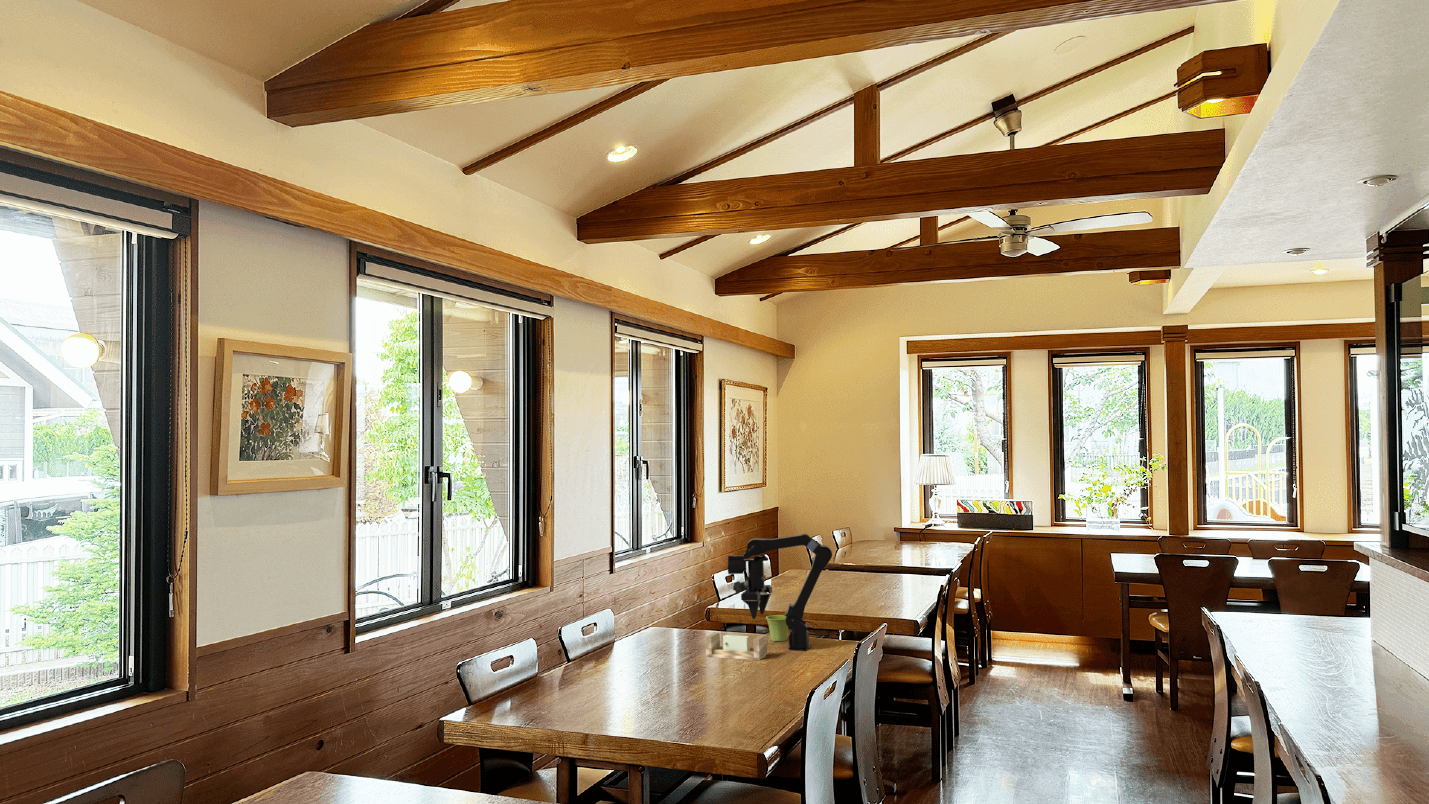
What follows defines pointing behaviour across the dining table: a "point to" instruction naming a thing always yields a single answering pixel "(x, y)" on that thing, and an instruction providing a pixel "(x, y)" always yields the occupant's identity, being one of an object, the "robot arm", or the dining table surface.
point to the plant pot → (777, 627)
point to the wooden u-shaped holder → (717, 651)
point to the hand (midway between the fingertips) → (758, 616)
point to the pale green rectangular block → (736, 643)
